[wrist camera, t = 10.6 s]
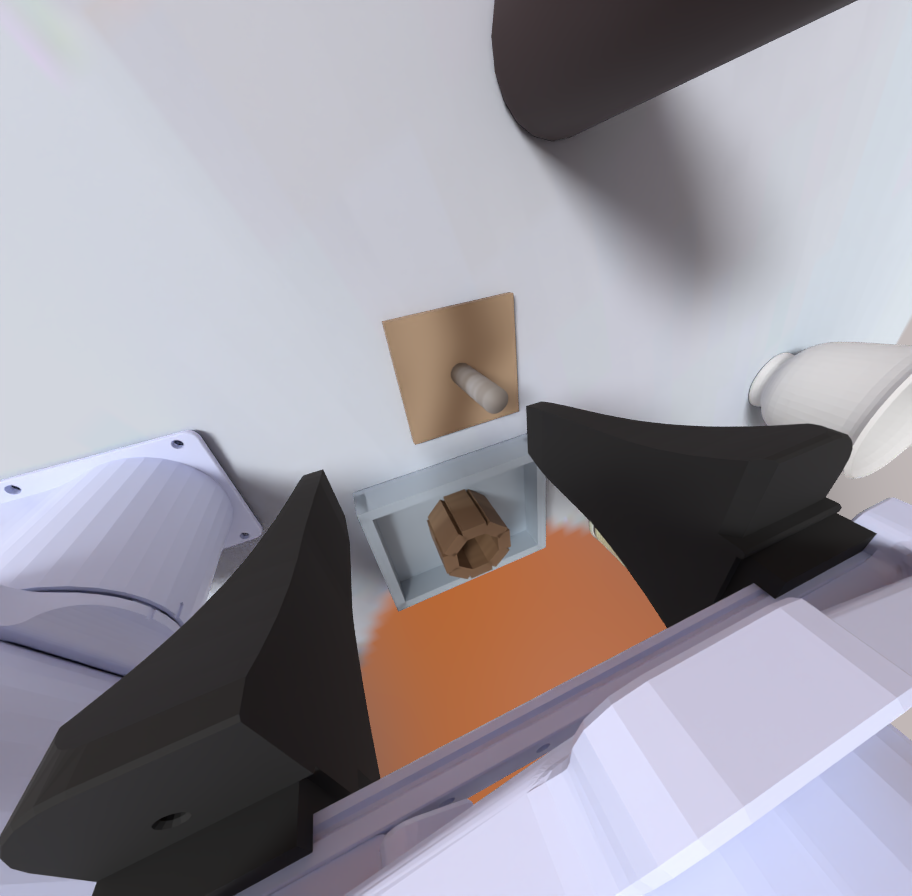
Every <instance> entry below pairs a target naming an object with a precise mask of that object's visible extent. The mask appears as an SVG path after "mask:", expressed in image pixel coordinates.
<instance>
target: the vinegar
mask: <svg viewBox="0 0 912 896" xmlns="http://www.w3.org/2000/svg"><path fill="white" fill-rule="evenodd" d="M855 1H857V0H495V3H494V14H493V25H492V36H491V37H492V47H493V57H494V67H495V73H496V76H497V80H498V83H499V86H500V89H501V92H502V96H503V99H504V101H505V103H506V105H507V106H508V108H509V110H510V111H511V113H512V114H513V116H514V118H515V119H516V121H517V123H519V124H520V125H521V126H522V127H523V128H524V129H526V130H527V131H528V132H529V133H530V134H532V135H533V136H535V137H539V138H543V139H546V140H550V141H556V140H560V139H564V138H569V137H572V136H574V135H576V134H578V133H580V132H583V131H585V130H587V129H589V128H591V127H593V126H595V125H597V124H599V123H601V122H603V121H606V120H608V119H610V118H612V117H614V116H616V115H618V114H620V113H622V112H624V111H627V110H629V109H631V108H633V107H635V106H637V105H639V104H641V103H643V102H645V101H647V100H650V99H652V98H654V97H656V96H658V95H660V94H662V93H664V92H666V91H668V90H671V89H673V88H675V87H677V86H679V85H681V84H683V83H685V82H687V81H689V80H691V79H694V78H696V77H698V76H700V75H702V74H704V73H706V72H708V71H710V70H712V69H715V68H717V67H719V66H721V65H723V64H725V63H727V62H729V61H731V60H733V59H735V58H738V57H740V56H742V55H744V54H746V53H748V52H750V51H752V50H754V49H756V48H759V47H761V46H763V45H765V44H767V43H769V42H771V41H773V40H775V39H777V38H779V37H782V36H784V35H786V34H788V33H790V32H792V31H794V30H796V29H798V28H800V27H803V26H805V25H807V24H809V23H811V22H813V21H815V20H817V19H819V18H821V17H823V16H826V15H828V14H830V13H832V12H834V11H836V10H838V9H840V8H842V7H844V6H846V5H849V4H851V3H853V2H855Z"/></svg>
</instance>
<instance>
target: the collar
mask: <svg viewBox="0 0 912 896" xmlns="http://www.w3.org/2000/svg"><path fill="white" fill-rule="evenodd" d="M443 498H444V501H443V500H439V501H438V503H437V504H436V506H435V507H434V508H433V510H432V511H431V513H430V514H429V516H428V519H429V520H427V523H428V526H429V530H430V533H431V537H432V539H433V541H434V544H435V546H436V548H437V551H438V553H439V556H440V558H441V560H442V563H443V565H444V568H445V570H446V572H447V574H449V576H454V577H459V578H464V579H468V578H469V577H471V579H472V578H474V577H476V576H479V575H481V574H483V573H486V572H488V571H490V570H493V568H492V566H494V567H496V566H497V565H498V564H499V563H500V561H501V560H502V559H503V558H504V556H505V555H506V554H507V553H508V551H509V547H511V541H510V530H509V529H508V527H507V526H506V525H505V523H504V522H503V520H502V519H501V518H500V516H499V515H498V513H497V512H496V511H495V509H494V508H493V506H492V505H491V504H490V502H489V501H488V499H487V498H486V497H485V495H482V494H480V493H477V492H475V491H472V490H470V489H468V490H467V491H466V490H465V489H463V490H460V491H458V492H455V493H452V494H450V495H447V496H444V497H443Z"/></svg>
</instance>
